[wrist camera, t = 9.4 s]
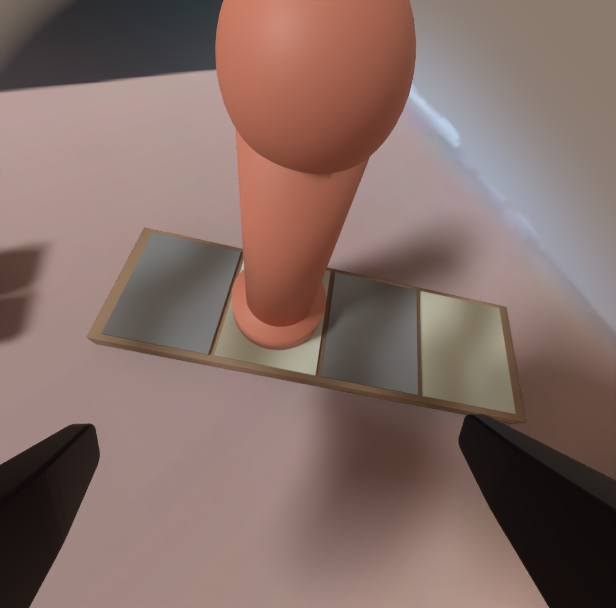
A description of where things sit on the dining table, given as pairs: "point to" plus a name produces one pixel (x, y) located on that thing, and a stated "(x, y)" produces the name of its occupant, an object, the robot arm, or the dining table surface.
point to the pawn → (304, 140)
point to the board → (317, 331)
